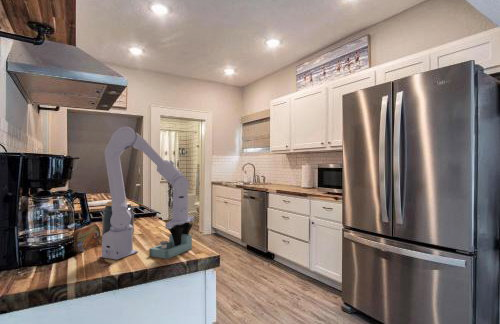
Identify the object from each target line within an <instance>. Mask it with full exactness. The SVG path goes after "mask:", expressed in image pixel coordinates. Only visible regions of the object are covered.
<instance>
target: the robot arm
mask: <svg viewBox="0 0 500 324" xmlns="http://www.w3.org/2000/svg"><path fill="white" fill-rule="evenodd" d="M131 147H132V148H133V149H136V150H139V151H142V153H143V154H144V155H145V156H146V157H147V158H148V159H150V161H152V162H153V164H155V165H156V171H157V172H158V174H159V175H160V176H161V177H162V178H163V179H164V180H165V181H166V182H167V183H169V184H170V185H171V187H172V188H173V189H172V190H173V191H172V193H173V194H172V219H171V220H169V221H168V222H165V226H164V228H165V229H166V230H167V229H168V230H169V232H170V234H171V235H172V237H173V240H174V244H175V246H179V245H181V236H182V234H188V235H190V234H189V233H190V231H191V229H192V227H193V223H194V222H195V217H194V216H189V188H190V185H191V183H190V182H189V180H188V178H187V177H186V176H184V175H183V174H184V173H183V171H180V170H179V169H177V167H176V166H175V163H174V161H170V160H169V159H164V158H162V157H161V155H160V154H159V153H158V152H157V151H156V150H155V149H154V148H153V147H152V146H151V145H150V144H149V142H148V141H147V140H146V139H145V138H143V137H142V136H141V135H140V134H139V133H138V132H135V130H134V129H133V128H132V127H129V126H121V127H119V128H118V129H117V130H115V131H114V132H113V133H112V134H111V138H110V139H109V142H108V144H107V145H106V147H105V149H104V153H103V155H104V160H105V167H106V173H107V178H108V187H109V192H110V199H111V200H110V201H112V216H111V219H110V223H111V225H112V227H110V231H108V232H106V233H105V234H104V235H102V237H101V255H99V256H100V258H104V259H111V260H120V259H123V258H125V257H128V256H130V255H131V256H132V255H133V254H136V253H139V250H136V249H134V248H133V246H134V245H133V242H134V241H133V239H134V238H133V235H134V233H133V226H132V225H130V222H131V218H132V214H131V211H130V210H129V209H128V206H127V201H126V200H127V196H126V189H125V184H124V176H123V170H122V169H123V168H122V164H121V163H122V162H121V155H122V154H124V152H125V151H126V150H127V149H129V148H131Z"/></svg>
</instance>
